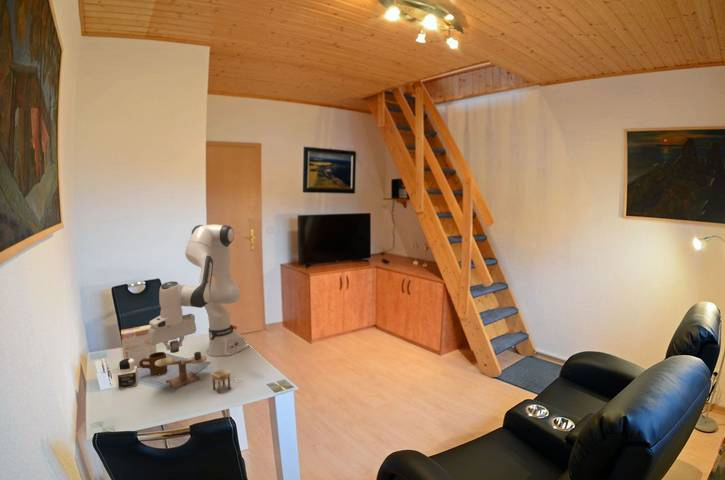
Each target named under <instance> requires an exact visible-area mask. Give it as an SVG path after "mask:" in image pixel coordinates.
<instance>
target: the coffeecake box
mask: <svg viewBox="0 0 725 480" xmlns="http://www.w3.org/2000/svg"><path fill="white" fill-rule="evenodd" d="M150 327H151V326H150V324H147V325H142V326H136V327H131V328H125V329H121V330H120V336H121V346H122V355H123V360H124V359H128V358H131V359H134V364H135V366H137V369H138V368H141V367H140V365H139V362H140V360H141V359H143V358H149V356H150V355H151V354H153V353H157V344H155V345H152V344H150V343H149V341H148V331H149V328H150ZM143 364H144V365H147V364H148V365H150V364H149V362H145V361H144V362H143Z"/></svg>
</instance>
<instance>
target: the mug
mask: <svg viewBox="0 0 725 480" xmlns="http://www.w3.org/2000/svg"><path fill="white" fill-rule="evenodd" d="M162 358H167V354H166V352H164V351H158V352H157V353H153V354H151V355H150V356H149V358H143V359H141V360H140V362H139V365H140V367H139V368H142V369H149V372H150V375H151V376H153V375H159V374H162V375H164V374H163V373H165V372H166V371H168V365H167V366H155V362H156V361H157V360H159V359H162ZM144 361H145V362H149V364H150V365H148V364H147V365H144V364H143V362H144ZM166 373H167V372H166ZM166 373H165V374H166ZM159 376H160V375H159Z"/></svg>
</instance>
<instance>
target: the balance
mask: <svg viewBox="0 0 725 480" xmlns="http://www.w3.org/2000/svg"><path fill="white" fill-rule="evenodd" d="M193 354H194V356H192V357H190V358H189V359H188V360H186V359H185V360H183V359H180V360H176V361H175V358H174V357H166V358H162V359H159V360H157V361H156V362H155V366H167V367H168V366H172V365H173V366H175V365H178V374H179V375H178V376H176V377H174V378H171V379H167V380H166V382H167V383H169V384H170V385H171V386H172V387H173V388H172V387H171V386H170V385H169V386H170V387H171V388H172V389H174V390H177V389H180V388H182V387H185V386H187V385H190V384H192V383H195V382H198V381H200V380H201V377H200V376H199V375H197V374H195V373H194V372H192V371H190V372H187V364H193V365H195V364H201V363H204V362H206V361H207V359H208V357H207V356H206V355H202V352H201V351H195V352H194V353H193ZM167 383H166V384H167Z"/></svg>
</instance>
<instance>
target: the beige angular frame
mask: <svg viewBox="0 0 725 480" xmlns="http://www.w3.org/2000/svg"><path fill="white" fill-rule="evenodd" d="M238 380H240V381H243V380H244V379H243V378H241V377H235V378H234V380H233V381H234V382H235V383H238Z"/></svg>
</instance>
